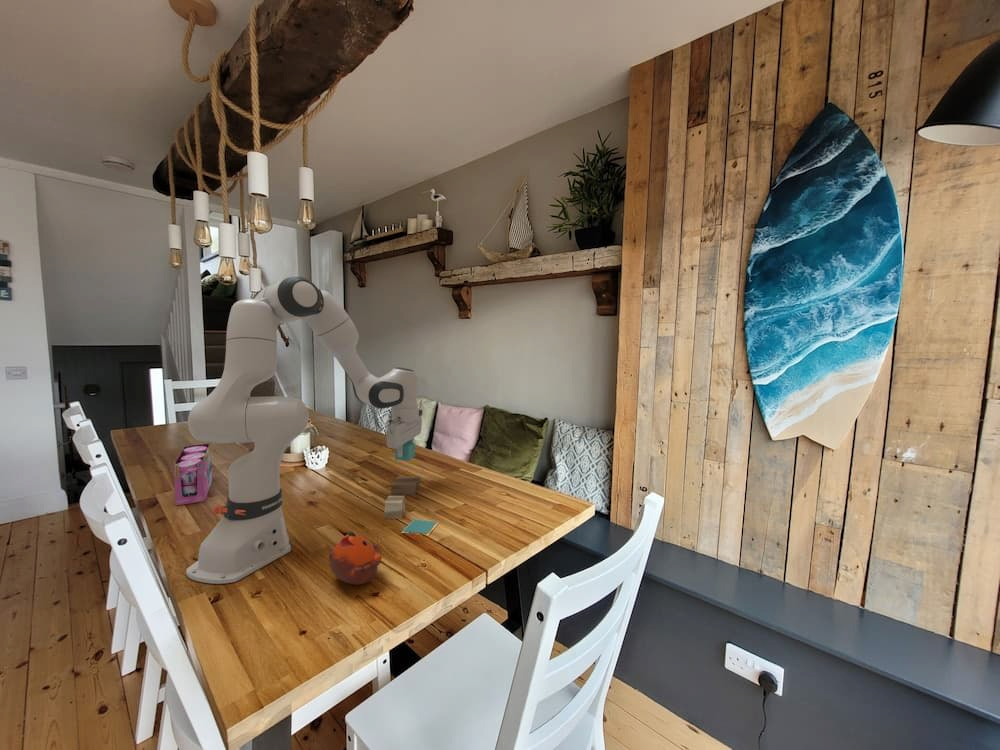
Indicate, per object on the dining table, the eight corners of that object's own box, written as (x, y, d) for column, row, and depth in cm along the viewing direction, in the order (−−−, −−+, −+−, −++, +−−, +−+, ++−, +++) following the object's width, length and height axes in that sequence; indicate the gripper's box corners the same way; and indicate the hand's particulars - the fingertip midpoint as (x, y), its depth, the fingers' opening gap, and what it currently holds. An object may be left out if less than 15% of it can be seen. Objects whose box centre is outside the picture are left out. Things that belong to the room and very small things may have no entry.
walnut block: (414, 496, 139) (414, 485, 139) (391, 495, 140) (391, 484, 139) (420, 487, 147) (420, 476, 147) (398, 486, 148) (398, 475, 147)
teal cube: (408, 460, 140) (408, 446, 139) (395, 459, 141) (395, 445, 140) (414, 456, 145) (414, 442, 144) (401, 455, 146) (401, 441, 145)
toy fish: (319, 582, 91) (318, 533, 90) (359, 560, 100) (358, 516, 99) (353, 602, 85) (352, 550, 84) (392, 577, 94) (392, 530, 92)
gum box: (205, 503, 131) (202, 461, 129) (174, 508, 127) (170, 465, 126) (213, 478, 152) (210, 443, 150) (186, 482, 148) (183, 445, 146)
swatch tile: (428, 537, 112) (428, 534, 112) (401, 533, 114) (401, 531, 114) (438, 523, 120) (438, 521, 120) (413, 520, 122) (413, 518, 121)
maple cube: (401, 518, 123) (401, 502, 122) (384, 518, 122) (384, 502, 122) (404, 511, 128) (404, 495, 127) (388, 511, 127) (388, 495, 127)
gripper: (399, 421, 130) (399, 464, 132) (424, 409, 150) (424, 446, 152) (381, 420, 131) (381, 462, 133) (408, 408, 151) (408, 444, 153)
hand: (405, 453), depth 142 cm, fingers closed on teal cube, 5 cm apart
